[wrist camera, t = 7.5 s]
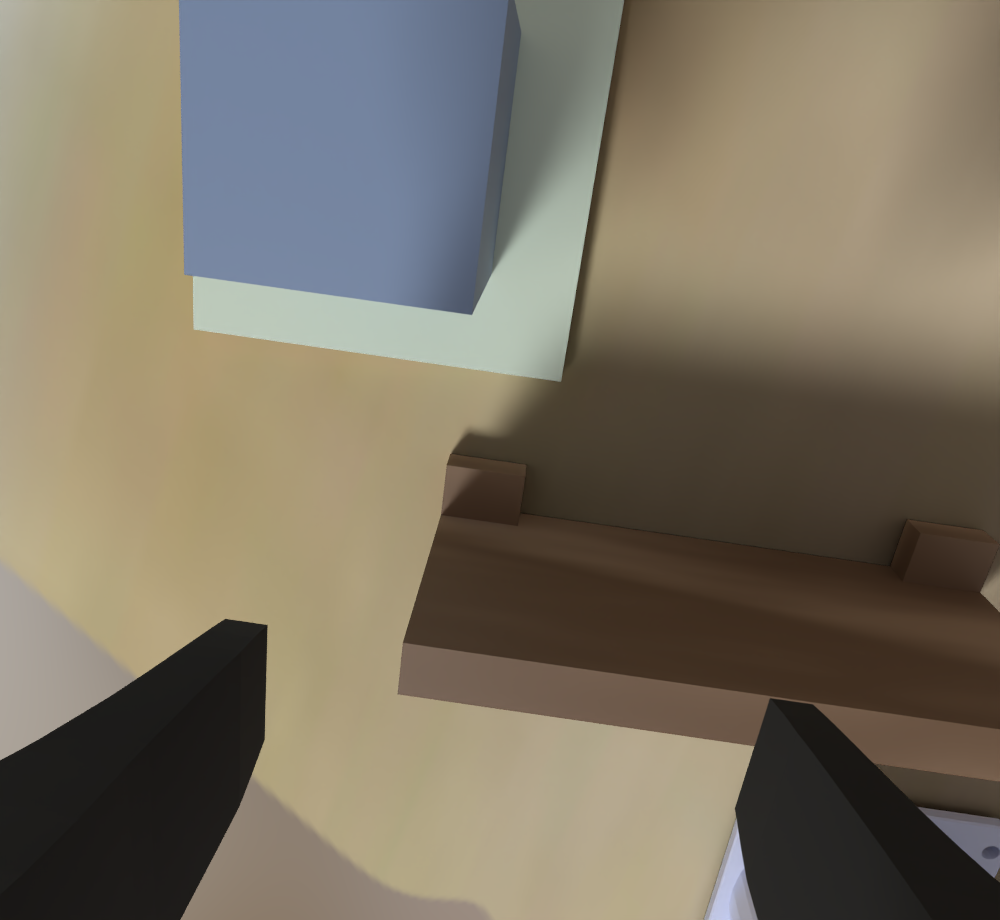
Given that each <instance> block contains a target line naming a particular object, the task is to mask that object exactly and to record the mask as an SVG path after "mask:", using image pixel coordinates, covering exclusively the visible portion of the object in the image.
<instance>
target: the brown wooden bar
mask: <svg viewBox="0 0 1000 920" xmlns="http://www.w3.org/2000/svg"><path fill="white" fill-rule="evenodd" d="M525 477H526V465H525V464H518V463H511V462H504V461H497V460H490V459H483V458H476V457H469V456H462V455H455V454H450V457H449V460H448V463H447V469H446V477H445V486H444V495H443V503H442V512H441V517H440V521H439V524H438V527H437V531H436V534H435V537H434V541H433V544H432V547H431V551H430V554H429V557H428V561H427V564H426V567H425V571H424V574H423V577H422V581H421V584H420V587H419V591H418V594H417V598H416V601H415V604H414V608H413V611H412V614H411V618H410V621H409V624H408V628H407V631H406V634H405V638H404V641H403V647H402V657H401V667H400V677H399V687H398V694H400V695H407V696H414V697H421V698H428V699H435V700H441V701H448V702H455V703H462V704H469V705H476V706H483V707H490V708H496V709H503V710H510V711H517V712H524V713H531V714H538V715H545V716H551V717H558V718H565V719H572V720H579V721H586V722H593V723H599V724H606V725H613V726H620V727H627V728H634V729H641V730H648V731H654V732H661V733H668V734H675V735H682V736H689V737H696V738H703V739H709V740H716V741H723V742H730V743H737V744H744V745H751V746H755V744H756V741H757V737H758V734H759V731H760V728H761V725H762V722H763V718H764V715H765V712H766V709H767V706H768V703H769V699H770V698H773V699H780V700H787V701H794V702H801V703H808V704H813V705H814V706H815V707H816V708H818V709H819V710H820V711H821V712H822V713H823V714H824V715H825V716H826V717H827V718H828V719H829V720H830V721H832V722H833V723H834V724H835V725H836V726H837V727H838V728H839V729H840V730H841V731H842V732H843V733H844V734H845V735H846V736H847V737H848V738H849V739H850V740H851V741H852V742H853V743H854V744H855V745H856V746H857V747H858V748H859V749H860V750H861V751H862V752H863V753H864V754H865V755H866V756H867V757H868V758H869V759H870V760H871V761H872V762H873V763H874V764H881V765H888V766H895V767H902V768H909V769H916V770H923V771H929V772H936V773H943V774H950V775H957V776H964V777H971V778H977V779H984V780H991V781H998V782H1000V612H999V611H998V610H997V609H996V608H995V607H994V606H993V605H992V604H991V603H990V602H989V601H988V600H987V599H986V598H985V597H984V596H983V595H982V594H981V593H980V592H981V589H982V587H983V584H984V582H985V580H986V577H987V575H988V572H989V570H990V568H991V565H992V563H993V560H994V558H995V555H996V553H997V551H998V548H999V546H1000V544H999V543H997V542H996V541H995V540H994V539H993V538H992V537H990V536H989V535H988V534H987V533H986V532H985V531H983V530H977V529H970V528H963V527H956V526H949V525H942V524H935V523H928V522H921V521H914V520H907V521H906V524H905V526H904V529H903V532H902V535H901V538H900V540H899V543H898V546H897V549H896V551H895V554H894V557H893V560H892V563H891V565H890V566H884V565H877V564H870V563H863V562H856V561H850V560H843V559H836V558H829V557H822V556H815V555H808V554H801V553H794V552H787V551H780V550H773V549H766V548H759V547H752V546H745V545H738V544H731V543H724V542H718V541H711V540H704V539H697V538H690V537H683V536H676V535H669V534H662V533H655V532H648V531H641V530H634V529H627V528H620V527H613V526H606V525H599V524H593V523H586V522H579V521H572V520H565V519H558V518H551V517H544V516H537V515H530V514H523V513H520V509H521V503H522V496H523V490H524V484H525Z"/></svg>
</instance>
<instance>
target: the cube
mask: <svg viewBox="0 0 1000 920" xmlns="http://www.w3.org/2000/svg"><path fill="white" fill-rule="evenodd" d="M179 19H180V70H181V122H182V174H183V226H184V275H190V276H197V277H205V278H212V279H219V280H226V281H233V282H240V283H247V284H254V285H261V286H269V287H276V288H283V289H290V290H297V291H304V292H311V293H318V294H326V295H333V296H340V297H347V298H354V299H361V300H368V301H375V302H382V303H390V304H397V305H404V306H411V307H418V308H425V309H432V310H439V311H447V312H454V313H461V314H468V315H472V314H473V312H474V310H475V308H476V305H477V303H478V301H479V299H480V297H481V295H482V293H483V291H484V289H485V287H486V285H487V283H488V281H489V279H490V277H491V274H492V266H493V258H494V250H495V242H496V234H497V226H498V218H499V210H500V201H501V193H502V185H503V177H504V169H505V161H506V153H507V145H508V136H509V128H510V120H511V112H512V104H513V96H514V88H515V80H516V72H517V63H518V55H519V47H520V39H521V28H520V23H519V18H518V14H517V9H516V4H515V0H179Z"/></svg>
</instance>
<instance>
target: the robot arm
mask: <svg viewBox="0 0 1000 920" xmlns="http://www.w3.org/2000/svg"><path fill="white" fill-rule="evenodd" d="M266 660H267V625H263V624H256V623H249V622H242V621H236V620H229V619H225V620H223V621H221V622H220V623H218V624H217V625H215V626H214V627H212V628H211V629H209V630H208V631H206V632H205V633H204V634H202V635H201V636H199V637H198V638H196V639H195V640H193V641H192V642H190V643H189V644H187V645H186V646H185V647H183V648H182V649H180V650H179V651H177V652H176V653H174V654H173V655H171V656H170V657H169V658H167V659H166V660H164V661H163V662H161V663H160V664H158V665H157V666H155V667H154V668H152V669H151V670H150V671H148V672H147V673H145V674H144V675H142V676H141V677H139V678H137V679H136V680H134V681H133V682H131V683H130V684H128V685H127V686H125V687H124V688H122V689H121V690H119V691H118V692H116V693H115V694H113V695H112V696H110V697H109V698H107V699H105V700H104V701H102V702H100V703H99V704H97V705H95V706H94V707H92V708H90V709H89V710H87V711H85V712H84V713H82V714H81V715H79V716H77V717H75V718H74V719H72V720H71V721H69V722H67V723H66V724H64V725H62V726H60V727H59V728H57V729H55V730H54V731H52V732H50V733H49V734H47V735H46V736H44V737H43V738H40V739H39V740H37V741H35V742H33V743H32V744H30V745H28V746H26V747H25V748H23V749H21V750H19V751H17V752H15V753H14V754H12V755H10V756H8V757H6V758H4V759H2V760H0V920H180V919H181V917H182V916H183V914H184V912H185V910H186V908H187V906H188V904H189V902H190V900H191V898H192V896H193V895H194V893H195V891H196V888H197V887H198V885H199V883H200V881H201V879H202V877H203V875H204V874H205V872H206V869H207V868H208V866H209V864H210V862H211V860H212V858H213V856H214V855H215V853H216V851H217V849H218V846H219V845H220V843H221V841H222V839H223V837H224V835H225V833H226V831H227V829H228V827H229V826H230V823H231V822H232V819H233V818H234V816H235V814H236V812H237V810H238V808H239V806H240V803H241V801H242V798H243V796H244V793H245V790H246V788H247V785H248V783H249V780H250V778H251V775H252V772H253V770H254V767H255V764H256V761H257V759H258V756H259V753H260V750H261V748H262V745H263V742H264V740H265V700H266ZM735 811H736V821H735V824H734V827H733V830H732V833H731V837H730V840H729V843H728V846H727V849H726V852H725V855H724V858H723V862H722V865H721V868H720V871H719V874H718V877H717V880H716V884H715V887H714V890H713V893H712V896H711V899H710V902H709V905H708V909H707V912H706V915H705V918H704V920H1000V883H999V882H998V881H997V880H996V879H995V876H996V874H997V872H998V870H999V868H1000V819H997V818H990V817H983V816H976V815H970V814H963V813H956V812H949V811H942V810H935V809H928V808H922V807H917V806H916V805H915V804H914V803H913V802H912V801H911V800H910V799H909V798H908V797H907V796H906V795H905V794H904V793H903V792H902V791H901V790H900V789H899V788H898V787H897V786H896V785H895V784H894V783H893V782H892V781H891V780H890V779H889V778H888V777H887V776H886V775H885V774H884V773H883V772H882V771H881V770H880V769H879V768H878V767H877V766H876V765H875V764H874V763H873V762H872V761H871V760H870V759H869V758H868V757H867V756H866V755H865V754H864V753H863V752H862V751H861V750H860V749H859V748H858V747H857V746H856V745H855V744H854V743H853V742H852V741H851V740H850V739H849V738H848V737H847V736H846V735H845V734H844V733H843V732H842V731H841V730H840V729H839V728H838V727H837V726H836V725H835V724H834V723H833V722H832V721H830V720H829V719H828V718H827V717H826V716H825V715H824V714H823V713H822V712H821V711H820V710H819V709H818V708H816V707H815V706H814V705H813V704H808V703H801V702H794V701H787V700H780V699H773V698H770V699H769V703H768V706H767V709H766V712H765V715H764V718H763V722H762V725H761V728H760V731H759V734H758V737H757V741H756V744H755V747H754V750H753V753H752V756H751V759H750V763H749V766H748V769H747V772H746V775H745V778H744V782H743V785H742V788H741V791H740V794H739V797H738V801H737V804H736V807H735ZM989 846H990V847H989Z"/></svg>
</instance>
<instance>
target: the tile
mask: <svg viewBox="0 0 1000 920" xmlns="http://www.w3.org/2000/svg"><path fill="white" fill-rule="evenodd" d="M515 4H516V9H517V14H518V18H519V23H520V28H521V39H520V47H519V55H518V63H517V72H516V80H515V88H514V96H513V104H512V112H511V120H510V128H509V136H508V145H507V153H506V161H505V169H504V177H503V185H502V193H501V201H500V210H499V218H498V226H497V234H496V242H495V250H494V258H493V266H492V274H491V277H490V279H489V281H488V283H487V285H486V287H485V289H484V291H483V293H482V295H481V297H480V299H479V301H478V303H477V305H476V308H475V310H474V312H473V314H472V315H468V314H461V313H454V312H447V311H439V310H432V309H425V308H418V307H411V306H404V305H397V304H390V303H382V302H375V301H368V300H361V299H354V298H347V297H340V296H333V295H326V294H318V293H311V292H304V291H297V290H290V289H283V288H276V287H269V286H261V285H254V284H247V283H240V282H233V281H226V280H219V279H212V278H205V277H197V276H193V312H194V329H195V330H202V331H209V332H216V333H223V334H230V335H237V336H244V337H251V338H258V339H265V340H272V341H279V342H286V343H293V344H300V345H307V346H314V347H321V348H328V349H335V350H342V351H349V352H356V353H363V354H370V355H377V356H384V357H391V358H398V359H405V360H412V361H419V362H426V363H433V364H440V365H447V366H454V367H461V368H468V369H475V370H482V371H489V372H496V373H503V374H510V375H517V376H524V377H531V378H538V379H545V380H552V381H559V382H561V379H562V373H563V367H564V361H565V355H566V348H567V342H568V336H569V330H570V324H571V318H572V312H573V306H574V300H575V294H576V288H577V282H578V276H579V270H580V264H581V258H582V252H583V246H584V240H585V234H586V228H587V222H588V216H589V210H590V204H591V198H592V192H593V185H594V179H595V173H596V167H597V161H598V155H599V149H600V143H601V137H602V131H603V125H604V119H605V113H606V107H607V101H608V95H609V89H610V83H611V77H612V71H613V65H614V59H615V53H616V47H617V41H618V35H619V29H620V22H621V16H622V10H623V4H624V0H515Z"/></svg>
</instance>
